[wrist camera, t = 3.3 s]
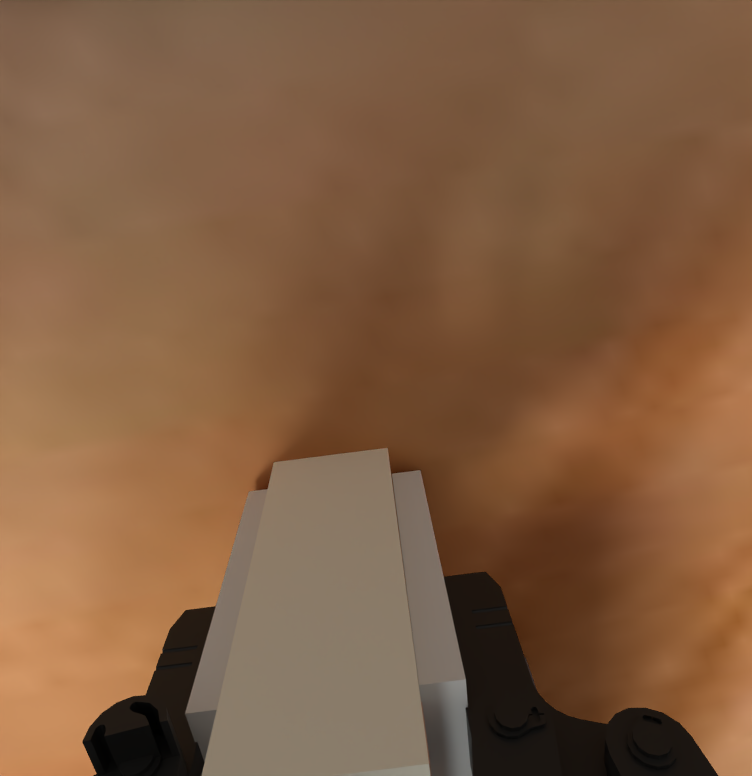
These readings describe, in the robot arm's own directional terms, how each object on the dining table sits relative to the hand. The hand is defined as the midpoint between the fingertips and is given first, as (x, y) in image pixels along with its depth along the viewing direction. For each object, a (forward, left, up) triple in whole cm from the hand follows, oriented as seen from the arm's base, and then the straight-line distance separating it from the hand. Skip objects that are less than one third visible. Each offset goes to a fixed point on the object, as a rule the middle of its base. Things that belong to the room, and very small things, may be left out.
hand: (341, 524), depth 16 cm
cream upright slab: (0, -4, 0) cm, 5 cm away
